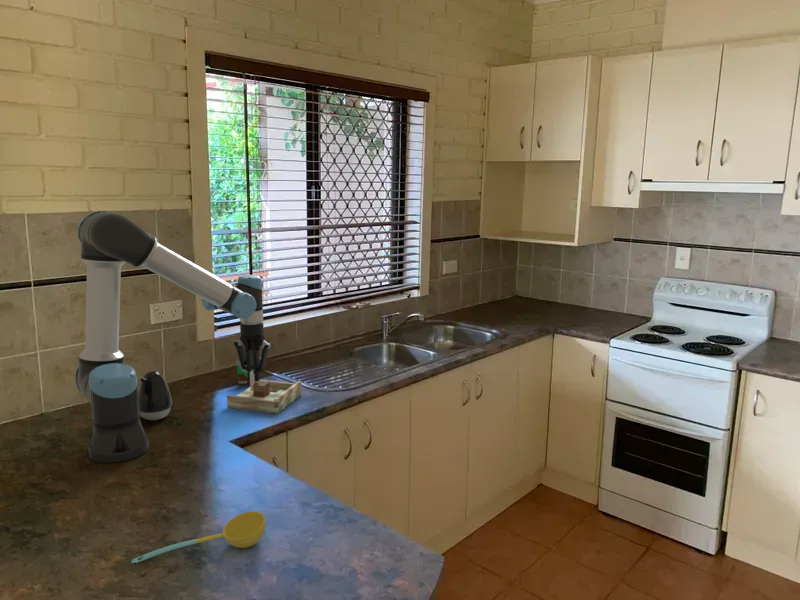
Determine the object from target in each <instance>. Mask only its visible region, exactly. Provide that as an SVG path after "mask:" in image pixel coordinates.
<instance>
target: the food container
mask: <svg viewBox="0 0 800 600" xmlns="http://www.w3.org/2000/svg"><path fill="white" fill-rule="evenodd" d="M260 359H261V357H260ZM235 366H236V371H237V378H238V379H237V382H238V386H239V387H241V386H242V387H243V386H250V381H248V372H247V371H246V370H245V369H244V370H243V369H242V367H241V363H240V359H236V361H235ZM253 370H254V369H253Z"/></svg>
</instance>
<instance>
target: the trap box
mask: <svg viewBox="0 0 800 600" xmlns="http://www.w3.org/2000/svg"><path fill="white" fill-rule="evenodd" d="M259 381H263V382H270V394H268V395H267V396H266V397H256V396H253V391H250V387H248V388H246V389H245V390H243V391H242V392H240V393H239V394H237V395H230V394H228V395H226V404H227V408H228V409H235V410H242V411H243V410H245V411H251V412H256V413H257V412H258V413H265V414H267V413H268V414H273V413H275V415H278V414H279V413H281V412H282V411H283V410H284V409H286V408H287V407H288V406H289V405H288V404H290V403H291V402H292V401H293V402H294V400H295V399H296V398H297V399H299V398H300V397H301V396H302V381H300V380H298V381H296V382H295V383H294V382H285V381H278V380H277V381H276V380H268V379H261V378H260V380H259ZM300 395H301V396H300ZM299 396H300V397H299ZM297 399H296V400H297ZM296 400H295V401H296ZM293 402H292V403H293ZM292 403H291V404H292ZM291 404H290V405H291ZM287 405H288V406H287ZM286 406H287V407H286ZM285 407H286V408H285ZM282 409H283V410H282ZM281 410H282V411H281ZM280 411H281V412H280Z"/></svg>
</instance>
